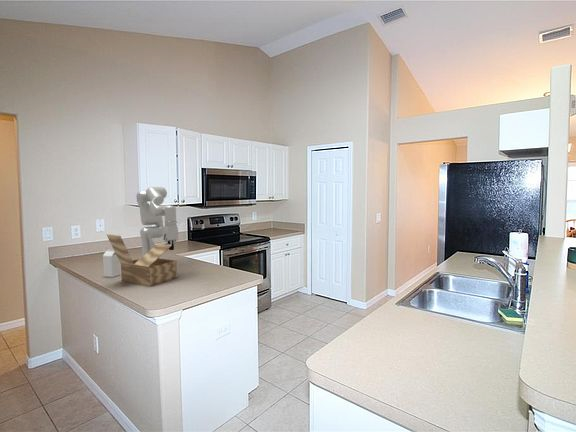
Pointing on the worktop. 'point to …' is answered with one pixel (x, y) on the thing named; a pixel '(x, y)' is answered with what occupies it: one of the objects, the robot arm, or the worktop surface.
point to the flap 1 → (120, 249)
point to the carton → (149, 272)
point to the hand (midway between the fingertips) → (171, 249)
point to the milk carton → (110, 263)
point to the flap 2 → (153, 255)
